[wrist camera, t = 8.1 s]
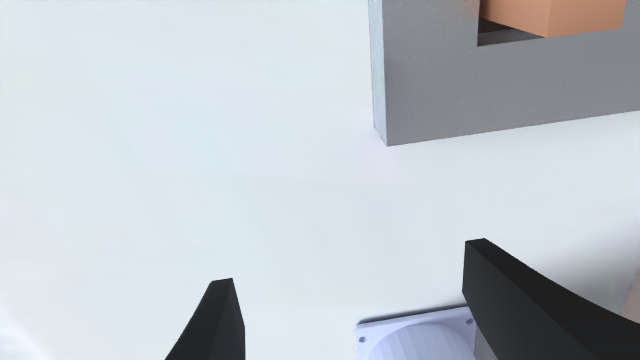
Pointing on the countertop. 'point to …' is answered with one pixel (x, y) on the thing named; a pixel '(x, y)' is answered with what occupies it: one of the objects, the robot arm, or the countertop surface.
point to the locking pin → (554, 15)
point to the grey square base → (491, 72)
